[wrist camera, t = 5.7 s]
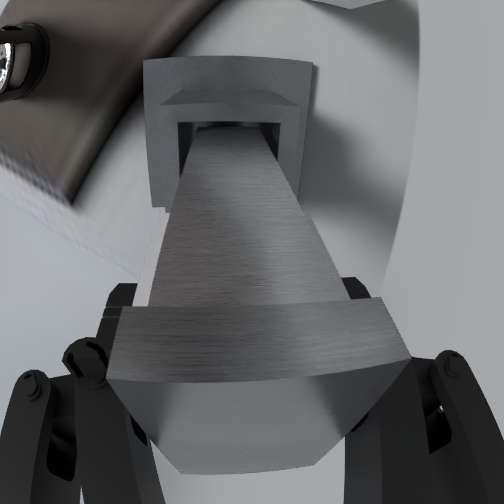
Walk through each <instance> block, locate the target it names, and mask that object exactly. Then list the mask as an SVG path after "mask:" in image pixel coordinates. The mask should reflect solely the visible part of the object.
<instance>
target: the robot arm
mask: <svg viewBox="0 0 504 504" xmlns="http://www.w3.org/2000/svg"><path fill="white" fill-rule="evenodd" d="M303 213H304V215H305V217H306V219H307V221H308V223H309V225H310V227H311V229H312V231H313V233H314V235H315V237H316V240H317V242H318V244H319V246H320V248H321V250H322V252H323V254H324V256H325V259H326V261H327V263H328V265H329V267H330V269H331V272H332V274H333V276H334V278H335V280H336V283H337V285H338V287H339V289H340V292H341V294H342V296H343V299H344V300H353V299H365V298H371V296H370V294H369V293H368V291H367V289H366V287H365V286H364V285H363V284H362V283H361V282H360V281H359V280H358V279H357V278H356V277H346V278H341V277H340V275H339V273H338V271H337V269H336V267H335V265H334V263H333V261H332V259H331V257H330V255H329V253H328V251H327V248H326V246H325V244H324V242H323V240H322V238H321V236H320V234H319V232H318V231H317V229H316V227H315V225H314V223H313V221H312V219H311V217H310V215H309V213H308V212H303ZM169 215H170V213H159V216H158V219H157V222H156V225H155V228H154V231H153V234H152V238H151V241H150V244H149V247H148V250H147V254H146V257H145V261H144V264H143V267H142V271H141V274H140V278H139V282H138V283H119V284H118V285H117V286H116V287H115V288H114V290H113V291H112V292H111V293H110V294H109V297H108V300H107V304H106V308H105V310H104V313H103V318H102V319H101V322H100V326H99V329H98V332H97V335H96V338H94V337H85V338H82V339H78V340H77V341H75V342H74V343H72V344H71V345H70V346H69V347H68V348H67V350H66V351H65V352H64V356H63V359H62V362H63V363H64V365H65V366H66V367H67V369H68V370H69V372H70V373H71V374H69V375H64V376H59V377H54V378H48V377H47V376H46V375H45V373H44V372H41V371H39V370H29V371H27V372H25V373H23V374H22V375H21V376H20V377H19V378H18V380H17V382H16V384H15V386H14V389H13V392H12V395H11V399H10V402H9V405H8V409H7V412H6V416H5V420H4V423H3V427H2V431H1V435H0V504H80V491H81V487H82V493H83V499H84V504H165V500H164V497H163V493H162V489H161V485H160V482H159V478H158V474H157V470H156V465H155V461H154V456H153V452H152V447H151V442H150V438H149V437H148V436H147V435H146V433H145V432H144V431H143V430H142V428H141V427H140V426H139V424H138V423H137V422H136V421H135V419H134V418H133V417H132V415H131V414H130V413H129V411H128V410H127V408H126V407H125V406H124V404H123V403H122V402H121V400H120V399H119V397H118V396H117V394H116V393H115V391H114V390H113V388H112V387H111V385H110V384H109V382H108V381H107V379H106V374H107V370H108V365H109V360H110V356H111V352H112V347H113V343H114V339H115V335H116V331H117V327H118V323H119V319H120V316H121V312H122V308H123V306H148V301H149V296H150V292H151V287H152V283H153V278H154V274H155V270H156V266H157V261H158V257H159V253H160V249H161V245H162V241H163V238H164V234H165V230H166V226H167V223H168V219H169ZM410 356H411V355H410ZM440 406H442V408H443V410H441V409H440ZM344 504H504V440H503V437H502V435H501V432H500V430H499V428H498V425H497V423H496V420H495V418H494V416H493V413H492V411H491V409H490V407H489V405H488V403H487V401H486V398H485V397H484V394H483V392H482V390H481V388H480V386H479V384H478V382H477V380H476V378H475V376H474V374H473V373H472V371H471V369H470V367H469V365H468V363H467V361H466V360H465V359H464V357H463V356H461V355H460V354H459V353H457V352H455V351H452V350H445V351H443V352H441V353H440V354H439V355H438V356H437V357H436V359H435V360H434V359H423V358H415V357H411V360H410V361H409V362H408V364H407V365H406V366H405V368H404V369H403V370H402V372H401V373H400V374H399V376H398V377H397V378H396V379H395V381H394V382H393V383H392V384H391V386H390V387H389V388H388V389H387V390H386V392H385V393H384V394H383V395H382V396H381V398H380V399H379V400H378V401H377V402H376V403H375V405H374V406H373V407H372V408H371V409H370V410H369V411H368V412H367V413H366V415H365V416H364V417H363V418H362V419H361V420H360V421H359V422H358V423H357V424H356V425H355V426H354V427H353V428H352V429H351V430H350V431H349V432H348V433H347V434H346V435H345V484H344Z"/></svg>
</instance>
